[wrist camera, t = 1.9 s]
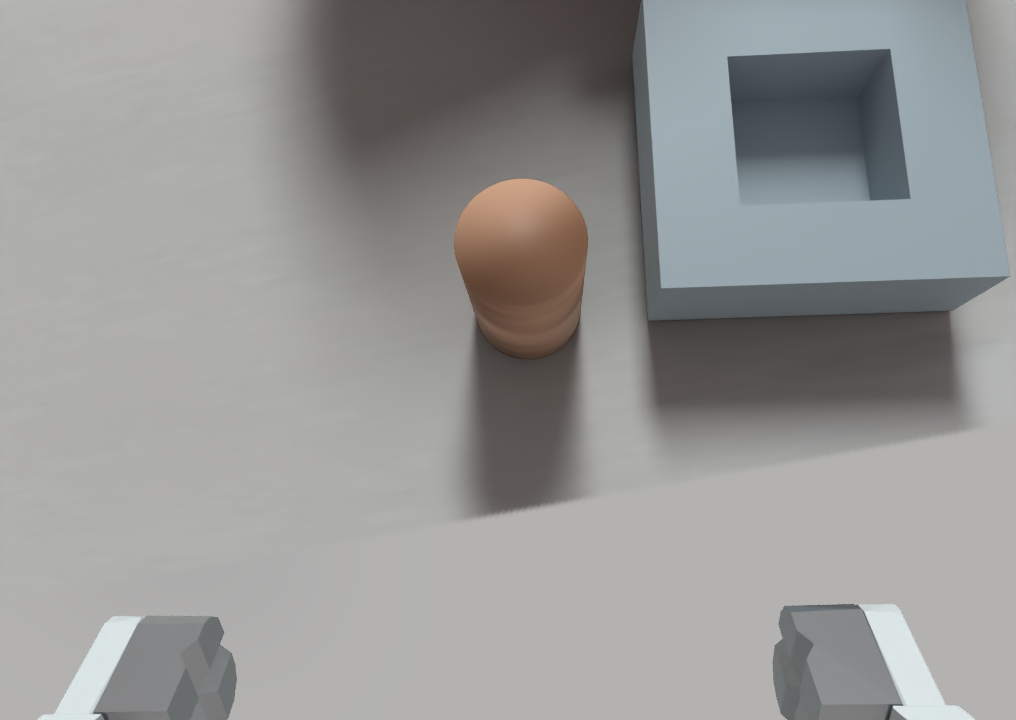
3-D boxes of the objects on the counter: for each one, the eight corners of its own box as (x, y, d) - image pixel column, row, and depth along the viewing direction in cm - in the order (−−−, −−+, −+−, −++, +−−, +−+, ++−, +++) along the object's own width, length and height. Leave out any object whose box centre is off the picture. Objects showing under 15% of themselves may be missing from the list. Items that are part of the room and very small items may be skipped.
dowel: (457, 292, 40) (429, 221, 31) (545, 240, 40) (542, 155, 32) (510, 378, 39) (497, 329, 30) (600, 324, 39) (613, 260, 31)
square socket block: (952, 310, 38) (1010, 276, 33) (647, 320, 39) (661, 288, 34) (913, 41, 41) (961, -26, 37) (632, 54, 42) (642, -10, 37)
